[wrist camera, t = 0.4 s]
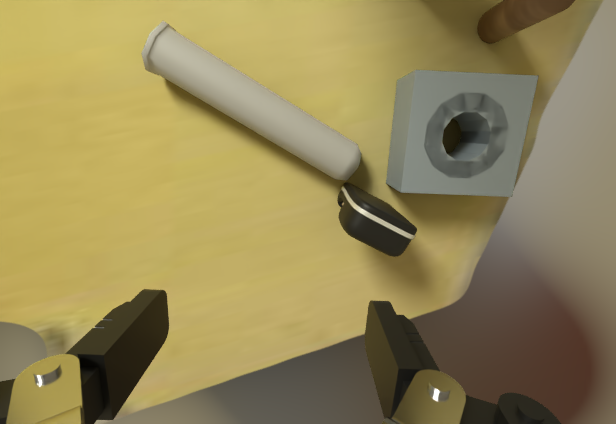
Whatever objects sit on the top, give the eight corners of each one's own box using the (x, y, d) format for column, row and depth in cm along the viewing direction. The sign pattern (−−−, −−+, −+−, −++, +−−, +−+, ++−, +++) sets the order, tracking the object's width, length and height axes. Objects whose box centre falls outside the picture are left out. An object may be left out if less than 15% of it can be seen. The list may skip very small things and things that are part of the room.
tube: (376, 144, 33) (164, 10, 29) (354, 186, 32) (134, 55, 29) (359, 154, 38) (177, 41, 35) (340, 190, 38) (153, 80, 34)
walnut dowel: (480, 8, 33) (543, -37, 24) (511, 9, 33) (585, -35, 24) (475, 42, 34) (533, 11, 25) (504, 43, 34) (573, 13, 25)
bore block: (397, 80, 35) (415, 69, 29) (499, 85, 35) (538, 75, 29) (386, 183, 38) (400, 192, 32) (480, 186, 38) (512, 196, 32)
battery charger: (329, 206, 39) (338, 235, 27) (343, 179, 38) (359, 199, 27) (375, 230, 39) (403, 268, 28) (391, 204, 39) (425, 234, 28)
